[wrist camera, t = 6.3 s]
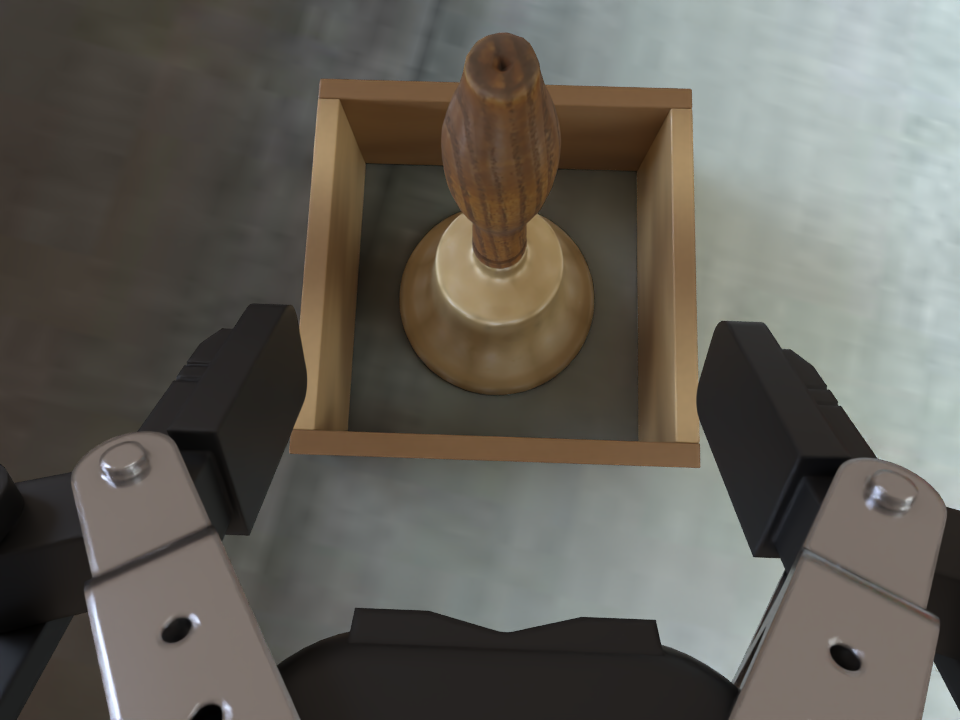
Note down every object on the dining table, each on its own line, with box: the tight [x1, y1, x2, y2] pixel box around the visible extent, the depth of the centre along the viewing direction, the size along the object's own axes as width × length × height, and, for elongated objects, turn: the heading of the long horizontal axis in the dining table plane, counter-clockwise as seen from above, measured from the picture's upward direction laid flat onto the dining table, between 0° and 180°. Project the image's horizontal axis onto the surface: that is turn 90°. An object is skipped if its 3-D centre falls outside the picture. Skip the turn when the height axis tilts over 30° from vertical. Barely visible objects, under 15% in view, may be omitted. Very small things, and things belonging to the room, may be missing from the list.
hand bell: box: [399, 33, 595, 395], centre depth 18 cm, size 8×8×16 cm
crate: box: [289, 79, 700, 468], centre depth 24 cm, size 14×14×5 cm
